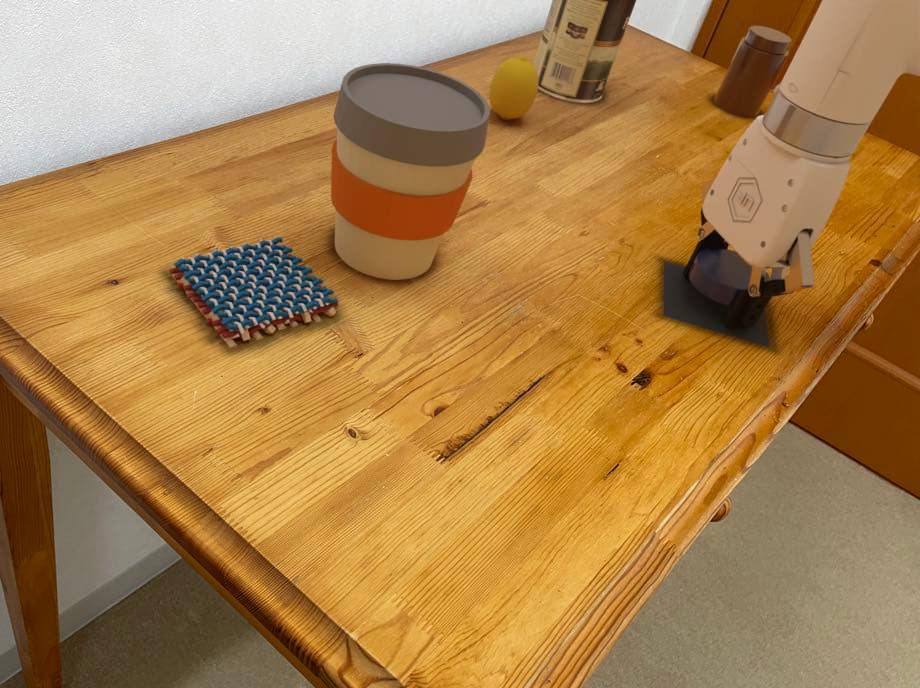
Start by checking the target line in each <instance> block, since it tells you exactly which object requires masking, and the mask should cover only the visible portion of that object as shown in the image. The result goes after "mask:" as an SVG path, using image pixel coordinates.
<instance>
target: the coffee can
mask: <svg viewBox="0 0 920 688" xmlns="http://www.w3.org/2000/svg"><path fill="white" fill-rule="evenodd" d="M636 3H637V0H552V1H551V4H550V7H549V10H548V15H547V18H546V21H545V24H544V28H543V31H542V35H541V38H540V41H539V44H538V49H537V50H536V51H537V52H536V55H535V59H534V61H533V65H534V67H535V68H536V70H537V73H538V90H539V91H541V92H542V93H545V94H547V95H549V96H552V97H554V98H557V99H560V100H563V101H567V102H573V103H580V104H590V103H595V102H598V101H600V100H601V99H602V98H603V94H604V90H605V88H606V86H607V82H608V80H609V76H610V74H611V71H612V68H613V66H614V63H615V60H616V58H617V55H618V52H619V49H620V47H621V43H622V41H623V38H624V36H625V32H626V30H627V27H628V25H629V22H630V19H631V16H632V13H633V11H634V8H635V6H636Z"/></svg>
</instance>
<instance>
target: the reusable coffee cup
mask: <svg viewBox="0 0 920 688" xmlns="http://www.w3.org/2000/svg"><path fill="white" fill-rule="evenodd" d="M490 116H491V108H490V105H489V103H488V101H487V99H485V97H484V96H483V95H482V94H481V93H480V92H478V91H477V90H476V89H475V88H473V86H470V85H469V84H467V83H465V82H464V81H462V80H460V79H458V78H456V77H454V76H451V75H448V74H445V73H443V72H440V71H437V70H433V69H430V68H426V67H421V66H416V65H411V64H403V63H391V62H390V63H389V62H382V63H370V64H364V65H360V66H358V67H355V68H352V69H351V70H350V71H348V72H347V73H346V74H345V75H344V76H343V78H342V81H341V84H340V89H339V92H338V97H337V101H336V104H335V108H334V113H333V120H334V124H335V126H336V139H335V140H334V142H333V143H332V147H331V163H330V164H331V167H330V168H331V169H330V171H331V172H330V199H331V204H332V206H333V208H334V209H335V210H334V211H335V212H334V213H335V215H334V249H335V251H336V253H337V255H338V256H339V258H340V259H341V260H342V261H343V262H344V263H345V264H346V265H348V266H349V267H351V268H352V269H354V270H356V271H357V272H359V273H362V274H364V275H367V276H370V277H374V278H378V279H384V280H391V281H394V280H395V281H398V280H399V281H400V280H401V281H403V280H409V279H413V278H416V277H419V276H422V275H423V274H424V273H426V272H427V271H428V270H429V269H430V268H431V266H432V263H433V262H434V258H435V256H436V254H437V252H438V249H439V246H440V245H441V241H442V240H443V238H444V234H445V233H447V232H448V231H450V230H451V228H452V227H453V225H454V223H455V221H456V218H457V216H458V214H459V211H460V209H461V206H462V204H463V202H464V200H465V197H466V195H467V192H468V191H469V188H470V185H471V183H472V181H473V170H472V168H473V166H474V163H475V160H476V158H478V157H479V156H480V155H481V154H482V153H483V151H484V149H485V147H486V142H487V141H486V140H487V135H488V128H489V122H490Z"/></svg>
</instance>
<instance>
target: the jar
mask: <svg viewBox="0 0 920 688" xmlns="http://www.w3.org/2000/svg"><path fill="white" fill-rule="evenodd" d="M747 30H748V32H747V33H746V36H743V37H742V38H741V39H740V41H739V44H738V46H737V48H736V50H735V53H734V55H733V57H732V59H731V61H730V64H729V66H728V67H727V70H726V72H725V75H724V76H723V78H722V81H721V83H720V86H719V87H718V89H717V92H716V94H715V96H714V98H713V103H714V104H715V106H717V107H718V108H720V109H721V110H722V111H725V112H726V113H729V114H731V115H735V116H738V117H741V118H750V119H751V118H757V117H758V116H759V114H760V112H761V110H762V108H763V105H764V104H765V102H766V100H767V98H768V96H769V94H770V92H771V90H772V88H773V86H774V84H775V82H776V80H777V78H778V76H779V73H780V72H781V70H782V68H783V66H784V64H785V62H786V60H787V58H788V56H789V51H788V49H790V47H791V43H792V38H791V37H790V36H789V35H787V34H786V33H784V32H782V31H781V30H780V31H779V30H778V29H775V28H771V27H768V26H763V25H752V26H750V27H748V29H747Z"/></svg>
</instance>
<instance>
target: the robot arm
mask: <svg viewBox="0 0 920 688" xmlns="http://www.w3.org/2000/svg"><path fill="white" fill-rule="evenodd" d="M903 74H909V75H914V76H917V77H920V0H821V3H820V5H819V7H818V8H817V10H816V12H815V15H813V18H812V20H811V22H810V24H809V27H808V28H807V31H806V32H805V34H804V36H803V38H802V40H801V43H800V45H799V46H798V48H797V50H796V52H795V54H794V56H793V58H792V60H791V62H790V63H789V66H788V68H787V69H786V72H785V74H784V76H783V78H782V79H781V82H780V83H779V84H777V85H776V86H774V89H773V90H772V96H773V97H772V99H771V101H770V103H769V105H768V107H767V109H766V110H765V113H764V114H760V115H757V116H756V117H755V119H754V120H753V121H752V122H751V124H749V126H748V127H747V129H746V130H745V131H744V132H743V134H742V135H741V136H740V138H739V139H738V141H737V142H736V144H735V145H734V147H733V148H732V150H731V151H730V153H729V154H728V156H727V158H726V160H725V161H724V163H723V165H722V166H721V168H720V170H719V172H718V174H717V175H716V177H715V179H713V180H708V181H706V182H704V183H703V184H702V187H701V190H702V191H701V193H702V194H701V196H702V197H701V198H702V206H701V209H700V221H701V222H700V223H701V226H700V227H699V228H698V229H697V233H696V237H697V239H698V240H699V241H697V243H696V245H695V247H694V249H693V251H692V253H691V256H690V257H689V260H688V262H687V263H686V265H685V266H684V267H685V269H684V271H683V276H684V277H685V278H686V279H689V275H688V273H689V271H690V269H691V267H692V265H693V263H694V261H695V259H696V257H697V255H698V253H699V252H700V251H702V250H704V249H708V248H723V249H728V250H729V246H730V248H731V249H732V250H733V251H735V252H737V254H738V255H739V256H740V257H741V258H742V259H743V260H744V261H745V262H746V263H748V264H749V265H750V266H752V271H751V276H750V282H749V288H748V289H743V290H741V291H740V292H739V294H738V296H737V298H736V300H735V301H734V303H733V305H732V307H731V308H730V310H729V312H728V314H727V315H726V317H725V319H724V322H723V324H724V325H725V326H726V327H727V328H747V327H753V326H754V325H755V324H756V322H757V321H758V319H759V318H760V316H761V314H762V313H763V311H764V309H765V310H766V307H768V305H769V302H770V301H771V299H772V298H774V297H775V298H776V297H781V296H783V295H784V296H785V295H790V294H793V293H795V292H799V291H803V290H807V289H811V288H812V287H814V284H815V274H814V266H813V265H814V264H813V257H812V249H813V247H814V246H815V244H816V243H817V241H818V240H819V237H820V236H821V234H822V233H823V231H824V228H825V226H826V224H827V223H828V221H829V219H830V217H831V214H832V213H833V211H834V209H835V207H836V204H837V203H838V200H839V198H840V196H841V193H842V191H843V188H844V186H845V183H846V181H847V178H848V175H849V172H850V170H851V168H852V167H851V166H852V162H851V161H850V159H851V158H852V156H853V155H854V152H855V150H856V149H857V148H858V146H859V143H860V142H861V140H862V139H863V138H864V135H865V134H866V132H867V130H868V129H869V127H870V125H871V124H872V122H873V120H874V118H875V116H876V115H877V114H878V112H879V110H880V108H881V107H882V106H883V104H884V102H885V100H886V99H887V97H888V95H889V93H890V92H891V90H892V89H893V87H894V86H895V83H896V82H897V80H898V78H899V77H900V76H902V75H903ZM788 267H789V274H788V275H787V272H788ZM767 269H771V272H770V273H771V275H770V281H766V282H764V281H765V275H766V271H768V270H767Z"/></svg>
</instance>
